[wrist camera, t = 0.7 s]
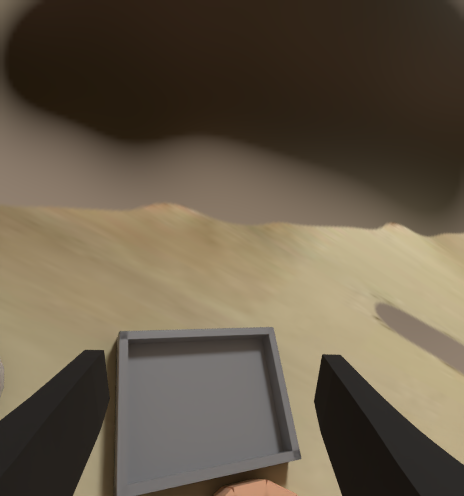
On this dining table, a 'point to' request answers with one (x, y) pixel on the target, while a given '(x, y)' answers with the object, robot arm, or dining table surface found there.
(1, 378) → the can
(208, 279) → the dining table surface
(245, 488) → the dish
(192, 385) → the tray
